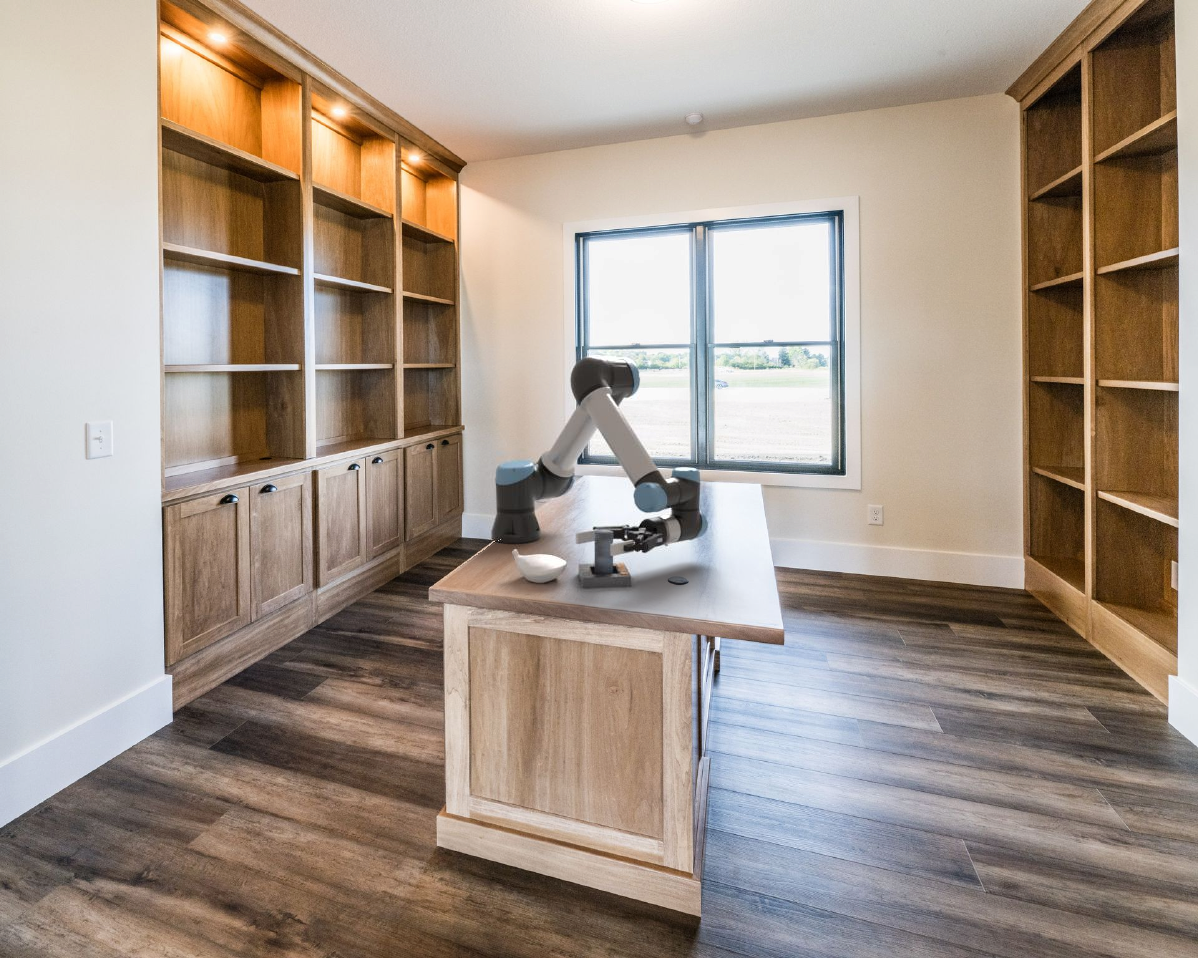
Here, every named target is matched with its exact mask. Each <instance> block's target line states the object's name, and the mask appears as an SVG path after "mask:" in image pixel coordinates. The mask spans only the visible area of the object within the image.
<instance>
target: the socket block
mask: <svg viewBox="0 0 1198 958" xmlns="http://www.w3.org/2000/svg"><path fill="white" fill-rule="evenodd" d="M578 576H579V581H580V583H581V587H582V589H594V588H595V589H596V588H597V589H599V588H602V589H603V588H622V587H623V588H624V587H628V588H630V587H631V588H632V575H631V573H630V572H629V569H628V568H627V566H626V564H625V563H624V562H613V574H595V563H578Z"/></svg>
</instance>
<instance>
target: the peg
mask: <svg viewBox="0 0 1198 958" xmlns="http://www.w3.org/2000/svg"><path fill="white" fill-rule="evenodd" d="M613 543H614V539H613V531H611V530H597V531H595V541H594V564H595V574H613V563H614V556H611V555H610V544H613Z"/></svg>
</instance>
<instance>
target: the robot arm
mask: <svg viewBox="0 0 1198 958" xmlns="http://www.w3.org/2000/svg"><path fill="white" fill-rule="evenodd" d="M569 378H570V379H569V381H570V388H571V391H572V392H571V393H572V395H573V398H574V399H575V401H576V403H577V407H576V408H575V410H574V411H573V413H572V415H571V416H570V418H569V420H568V421H567V423H566V425H565V426H564V427H563V429H562V431H561V432H560V434H559V436H558V437H557V439H556V440H555V442H554V444H553V445H552V447H551V449H549V450H545V451H544V452H543V453H542V454H541V456H540V457H539V458H538V461H537V462H536V463H535V462H533V460H527V459H518V460H510V461H506V462H504V463H501V464H499V465H498V466H497V468H496V470H495V479H494V480H495V481H494V482H495V499H496V502H495V504H496V514H495V518H494V520H493V525H492V528H491V532H490V533H491V534H490V535H491V540H492V541H495V542H497V543H502V544H525V543H531V542H534V541H537V540H540V539H541V537H542V536H541V535H542V534H541V533H542V532H541V527H540V524H539V520H538V518H537V516H536V511H535V509H536V508H535V506H536V505H535V503H536V502H537V501H542V500H548V499H553V498H559V497H561V496H564V495H566V494H567V493H569V492H570V491H571V490H572V488H573V487H574V484H575V479H574V477H575V471H576V470H575V466H574V465H575V464H576V462H577V460H578V458H580V456H581V454H582V453H583V451H584V449H585V448H586V447H587V445H588V444H589V442H590V440H591V439H592V437H593V436H594V435H595V433H596V431H599V432H600V434H601V436H602V437H603V439H604V440H605V442H606V444H607V445H608V447H609V448H610V450H611V452H612V453H613V455H614V457H615V458H616V460H617V462H618V463H619V465H620V466H621V468H622V469H623V471H624V473H625V475H626V476H627V478H628V479H629V481H630V482H631V484H632V485H633V487H634V488H635V489H634V491H633V500H634V502H633V503H634V504H635V507H636V508H637V509H638V510H640V512H643V513H646V514H647V513H648V514H650V513H659V512H662V511H664V510H667V509H670V511H671V512H670V513H671V514H665V515H660V516H656V517H650V518H649V517H648V518H645V519H643V520H642V521H641V522H640V524H639V525H633V526H630V525H629V524H623V525H609V526H608V525H605V526H603V525H602V526H593V527H592V529H591V530H585V531H579V532H575V544H576V545H580V544H585V543H592V542H595V531H597V530H611V531H613V540H621V541H619V542H613V544H610V555H611V556H613V557H614V556H618V555H623V554H628V553H633V552H636V553H639V552H641V553H643V554H647V553H648V552H650V551H652V550H653V549H654V548H658V547H662V546H665V547H668V546H669V545H670V544H674V543H675V544H676V543H679V542H685V541H692V540H695V539H698V538H701V537H703V536H704V535H705V534H706V532H707V531H708V528H709V521H708V519H707V516H706V514H705V513H704V512H703V511H701V510H700V509H701V508H700V501H701V484H702V483H701V472H700V470H699V469H698V468H694V467H684V466H683V467H675V468H673V469H672V471H671V476H670V478H664V476H663V474H662V473H661V471H660V470H659V469H658V467H657V465H656V464H655V463H654V461H653V459H652V458H651V456H650V454H649V453H648V452H647V450H646V449H645V447H644V445H643V444H642V442H641V440H640V439H639V438H638V435H637V434H636V433H635V431H634V430H633V428H632V427H631V425H630V423H629V422H628V420H627V419H626V417H625V416H624V414H623V413H622V410H621V409H620V408H619V406H620V404H621V403H622V402H623V400H624V398H625V399H628V398H630V397H632V396H634V395H635V394H636V393H637V391H638V390H639V388H640V383H641V377H640V370H639V368H638V366H637V365H636V363H635V362H634V360H632V359H631V358H628V357H625V356H621V355H615V356H609V355H608V356H607V355H597V354H596V355H595V354H594V355H593V354H592V355H587V356H584V357H583V358H580V360H579V359H578V361H577V362H576V363H575V365H574V366H573V368H572V371H571V373H570V377H569ZM500 539H501V540H500ZM498 540H499V541H498Z"/></svg>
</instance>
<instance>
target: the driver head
mask: <svg viewBox="0 0 1198 958" xmlns="http://www.w3.org/2000/svg"><path fill="white" fill-rule="evenodd" d="M511 554H512V556H513V557H514V561H515V566H516V567H517V569H518V571H519V573H520V574H521V575H522V576H523V577H524V578H525V579H526V580H528V581H529V582H532V583H537V584H543V583H547V582H550V581H552V580H553V581H554V580H555V579H557V578H559V577H560V576H562V575H563V573H565V571H566V569H567V566H568V563H567V561H566V560H564V559H562V558H561V557H558V556H556V555H551V554H541V553H539V554H537V553H536V554H527V555H520V554H519V551H518V549H513V550H512V551H511Z"/></svg>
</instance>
